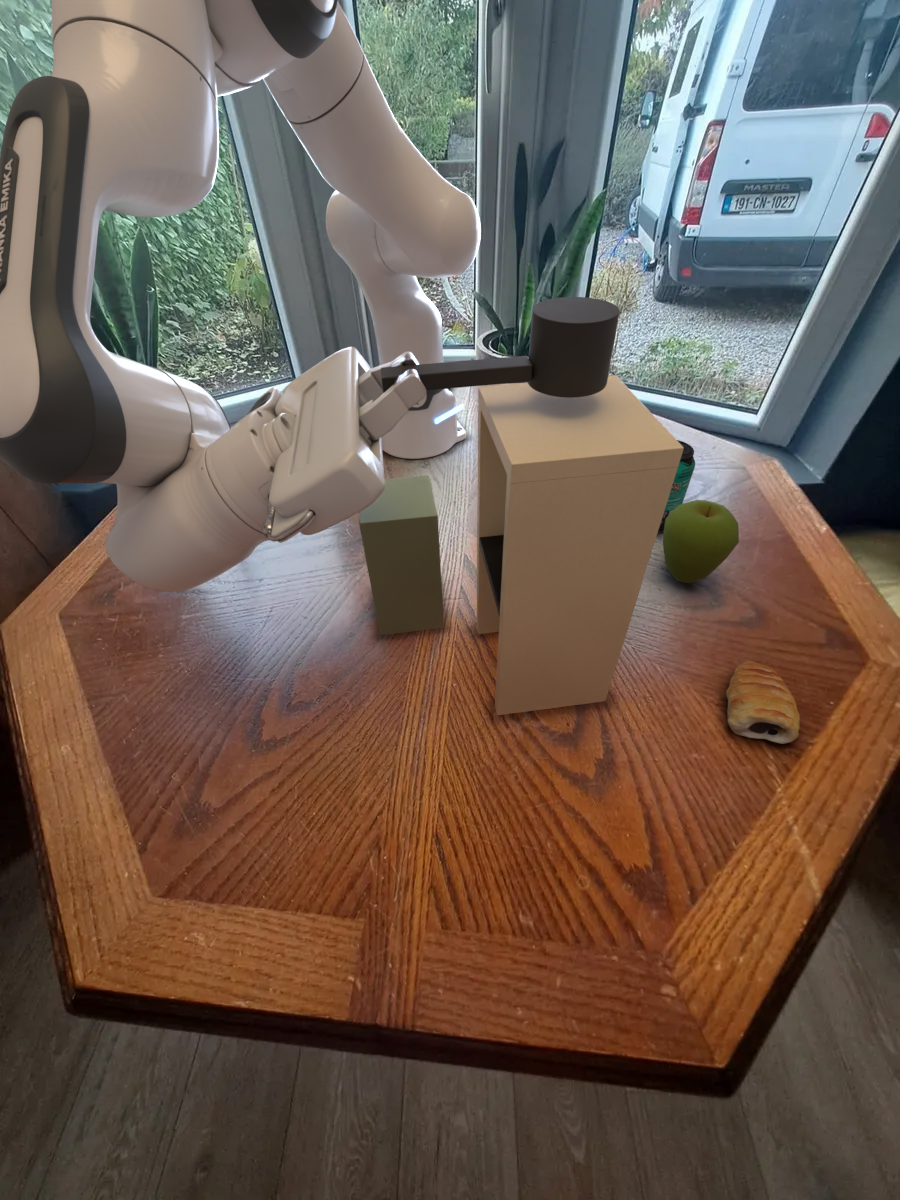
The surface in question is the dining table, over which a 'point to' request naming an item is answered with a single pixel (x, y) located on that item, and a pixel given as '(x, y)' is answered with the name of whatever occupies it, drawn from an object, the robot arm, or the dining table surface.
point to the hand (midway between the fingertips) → (419, 370)
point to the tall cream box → (565, 535)
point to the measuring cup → (540, 353)
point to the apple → (698, 539)
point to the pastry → (761, 705)
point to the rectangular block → (404, 556)
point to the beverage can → (680, 482)
